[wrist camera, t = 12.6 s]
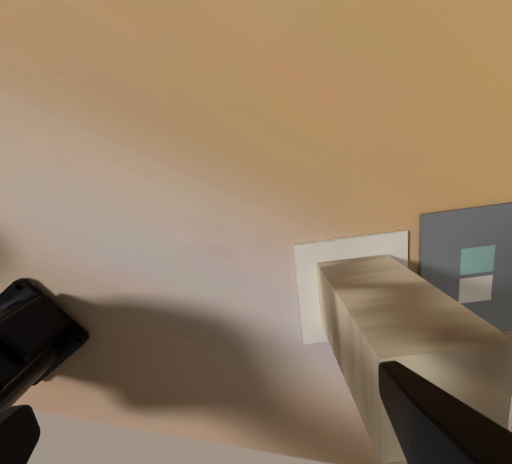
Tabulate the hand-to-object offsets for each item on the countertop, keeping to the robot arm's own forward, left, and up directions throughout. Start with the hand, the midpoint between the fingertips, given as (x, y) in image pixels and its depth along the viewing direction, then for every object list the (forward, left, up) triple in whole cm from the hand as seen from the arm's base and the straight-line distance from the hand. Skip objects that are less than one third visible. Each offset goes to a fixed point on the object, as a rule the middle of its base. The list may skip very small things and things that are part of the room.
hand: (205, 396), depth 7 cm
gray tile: (+13, -14, -13) cm, 23 cm away
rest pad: (+4, -8, -13) cm, 16 cm away
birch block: (+4, -8, -13) cm, 16 cm away
